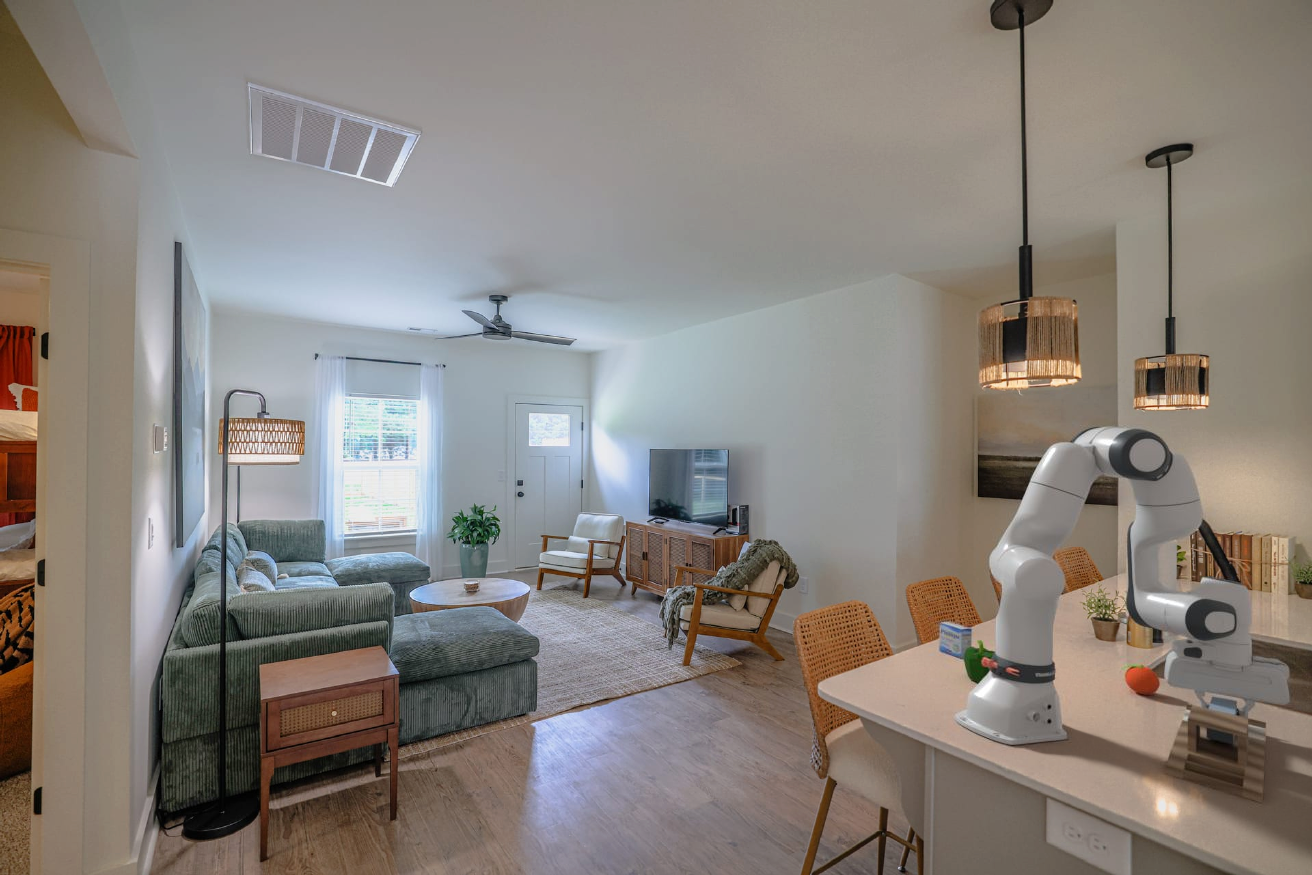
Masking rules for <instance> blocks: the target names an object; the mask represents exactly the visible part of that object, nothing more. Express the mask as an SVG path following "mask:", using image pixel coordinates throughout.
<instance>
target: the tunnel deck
mask: <svg viewBox="0 0 1312 875" xmlns="http://www.w3.org/2000/svg"><path fill="white" fill-rule="evenodd" d="M1207 728H1210V729H1214V730H1218V731H1222V732H1226V733H1230V734H1234V735H1235V737H1234V743H1233V744H1229V743H1225V742H1221V741H1217V740H1213V739H1210V738H1207ZM1266 731H1267V722H1266V721H1263V720H1258V719H1253V718H1250V717H1248V718H1246V717H1242V716H1237V715H1233V714H1229V713H1224V712H1220V711H1216V710H1212V709H1207V708H1203V707H1201V706H1198V705H1194V704H1189V703H1186V709H1185V712H1184V715H1183V718H1182V719H1181V723H1180V726H1179V728H1178V731H1177V733H1176V737H1175V738H1174V742H1173V744H1172V746H1171V747H1172V748H1171V749H1170V751H1169V755H1168V757H1167V759H1166V763H1165V774H1166V775H1169V776H1172V777H1176V778H1177V779H1182V780H1185V781H1188V782H1191V783H1195V784H1198V785H1202V786H1205V787H1208V788H1213V789H1216V790H1218V791H1222V792H1225V793H1229V794H1232V795H1235V796H1238V797H1240V798H1244V799H1248V800H1252V801H1255V802H1259V803H1262V804H1263V803H1264V785H1265V766H1266V765H1265V763H1266V744H1267V743H1266V741H1267V739H1266V738H1267V732H1266Z"/></svg>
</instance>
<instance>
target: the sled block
mask: <svg viewBox="0 0 1312 875" xmlns="http://www.w3.org/2000/svg"><path fill="white" fill-rule="evenodd" d="M1209 703H1210V706H1209V709H1212V710H1216V711H1220V712H1224V713H1229V714H1233V715H1237V708H1238V701H1237V700H1235V699H1231V698H1230V699H1229V698H1226V697H1221V696H1218V695H1212V696H1211V699H1210V702H1209ZM1234 737H1235V735H1234V734H1230V733H1226V732H1222V731H1218V730H1214V729H1210V728H1207V738H1210V739H1213V740H1217V741H1221V742H1225V743H1229V744H1233V743H1234Z"/></svg>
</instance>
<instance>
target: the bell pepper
mask: <svg viewBox="0 0 1312 875" xmlns="http://www.w3.org/2000/svg"><path fill="white" fill-rule="evenodd" d="M977 644H978V646H979V647H974V646H972V645H971V646H970V647H969V648H967V650H966V651H965V653H964V658H963V662H964V667H965V670H966V675H967V676H968V678H969V679H970V680H972V681H973V682H975V683H979V682H980V681H981V680H982V679H983V678H984V677H985V676H986V675H987V674H988V673H989V671H990V669H989V667H985V666H983V665H982V663H981V662H982V660H983V658H984V657H986V658H988V659H992V656H993V653H994V652H995V651H994V650H988V649H987V648H985V647H984V643H983V641H982V640H980V639H978V640H977Z"/></svg>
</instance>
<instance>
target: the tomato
mask: <svg viewBox="0 0 1312 875" xmlns="http://www.w3.org/2000/svg"><path fill="white" fill-rule="evenodd" d="M1125 668H1126V671H1125V674H1124V679H1125V680H1124V681H1125V682H1126V684H1127V686H1128V688H1129V689H1130V690H1132V691H1133V692H1134V693H1137V694H1141V695H1146V696H1147V695H1151V694H1154V693H1156V692H1157V691H1158V690H1159V688H1160V685H1161V684H1160V678H1159V676H1158V674H1157V673H1156V672H1155V671H1154V670H1152V669H1151V668H1150V667H1148V666H1145V665H1140V664H1139V665H1137V664H1129V665H1126V666H1124V667H1123V668H1122V669H1120V671H1119V673H1121V672H1122V671H1123V670H1124V669H1125ZM1127 668H1128V669H1127Z"/></svg>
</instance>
